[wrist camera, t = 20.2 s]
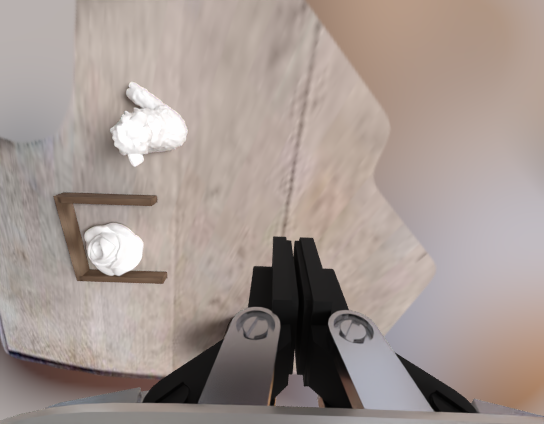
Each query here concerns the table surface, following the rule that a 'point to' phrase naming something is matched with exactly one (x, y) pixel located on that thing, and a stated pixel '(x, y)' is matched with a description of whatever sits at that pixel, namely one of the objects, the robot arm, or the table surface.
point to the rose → (113, 248)
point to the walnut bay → (76, 244)
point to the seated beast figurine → (147, 126)
